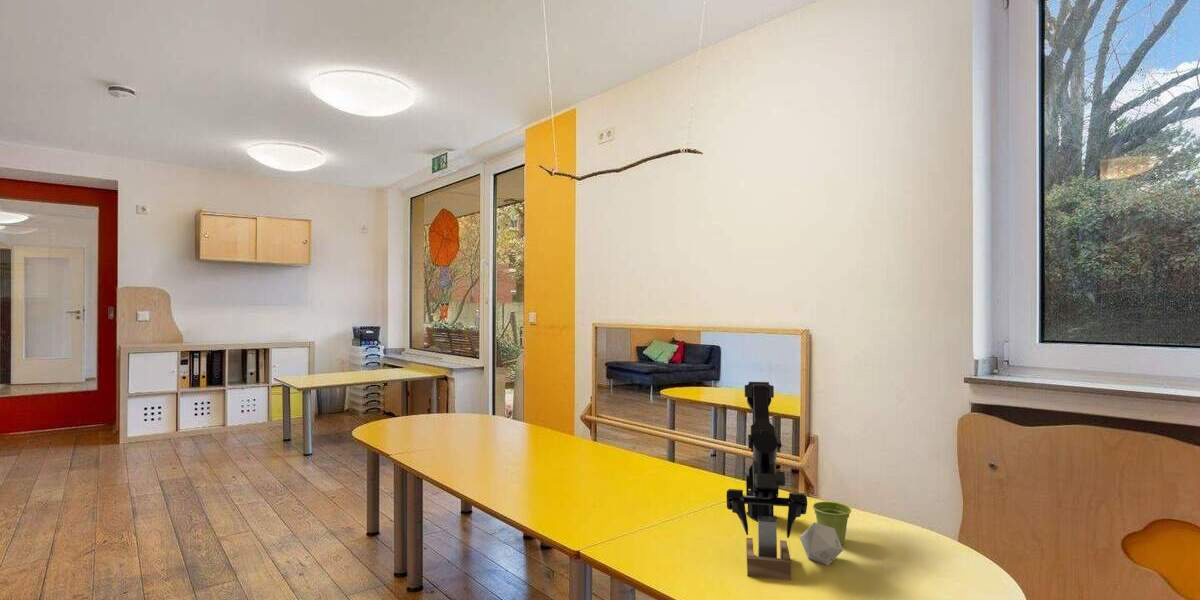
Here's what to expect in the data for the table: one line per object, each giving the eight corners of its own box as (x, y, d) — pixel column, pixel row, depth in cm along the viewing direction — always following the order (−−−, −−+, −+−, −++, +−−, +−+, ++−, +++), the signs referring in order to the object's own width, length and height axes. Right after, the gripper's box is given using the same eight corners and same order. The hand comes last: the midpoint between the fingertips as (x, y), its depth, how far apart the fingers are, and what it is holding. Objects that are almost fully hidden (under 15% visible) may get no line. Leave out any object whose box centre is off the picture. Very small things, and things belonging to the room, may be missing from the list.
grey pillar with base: (758, 558, 142) (757, 513, 142) (775, 560, 141) (774, 514, 141) (759, 571, 135) (758, 523, 135) (777, 573, 134) (776, 524, 134)
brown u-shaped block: (746, 554, 145) (746, 537, 145) (786, 557, 143) (786, 540, 143) (747, 576, 133) (747, 558, 133) (791, 580, 131) (791, 562, 131)
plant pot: (857, 540, 153) (856, 506, 153) (843, 551, 146) (843, 516, 146) (821, 531, 159) (821, 499, 159) (806, 541, 152) (806, 508, 152)
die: (811, 572, 136) (839, 541, 134) (786, 541, 143) (812, 511, 141) (829, 575, 141) (856, 545, 139) (804, 545, 148) (829, 516, 146)
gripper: (726, 456, 144) (725, 516, 133) (805, 459, 140) (812, 522, 129) (727, 479, 152) (726, 538, 141) (802, 483, 148) (808, 544, 137)
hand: (767, 535), depth 137 cm, fingers open, 9 cm apart
